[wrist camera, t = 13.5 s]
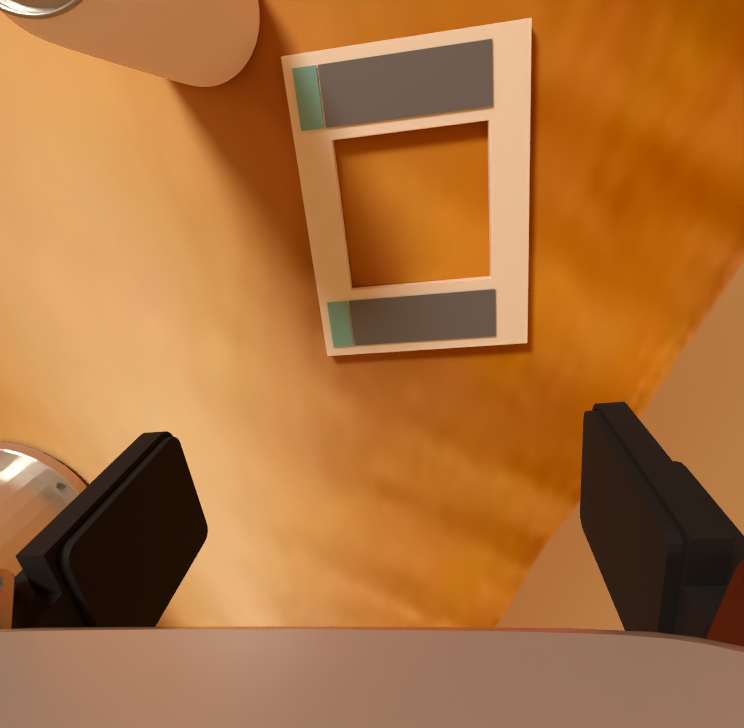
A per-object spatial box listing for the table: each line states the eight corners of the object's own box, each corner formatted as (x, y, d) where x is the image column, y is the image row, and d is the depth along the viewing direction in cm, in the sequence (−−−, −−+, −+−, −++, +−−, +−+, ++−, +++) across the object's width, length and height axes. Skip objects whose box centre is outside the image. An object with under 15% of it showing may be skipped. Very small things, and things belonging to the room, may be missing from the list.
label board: (525, 339, 29) (527, 343, 28) (329, 352, 30) (326, 356, 30) (529, 21, 23) (532, 17, 22) (284, 58, 24) (280, 55, 24)
